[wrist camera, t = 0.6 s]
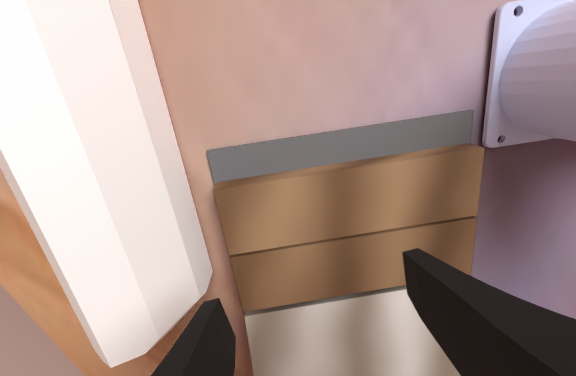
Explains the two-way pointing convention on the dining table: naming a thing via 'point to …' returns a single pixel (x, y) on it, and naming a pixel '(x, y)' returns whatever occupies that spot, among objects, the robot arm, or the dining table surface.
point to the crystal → (99, 168)
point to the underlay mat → (340, 146)
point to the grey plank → (345, 338)
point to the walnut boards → (348, 223)
